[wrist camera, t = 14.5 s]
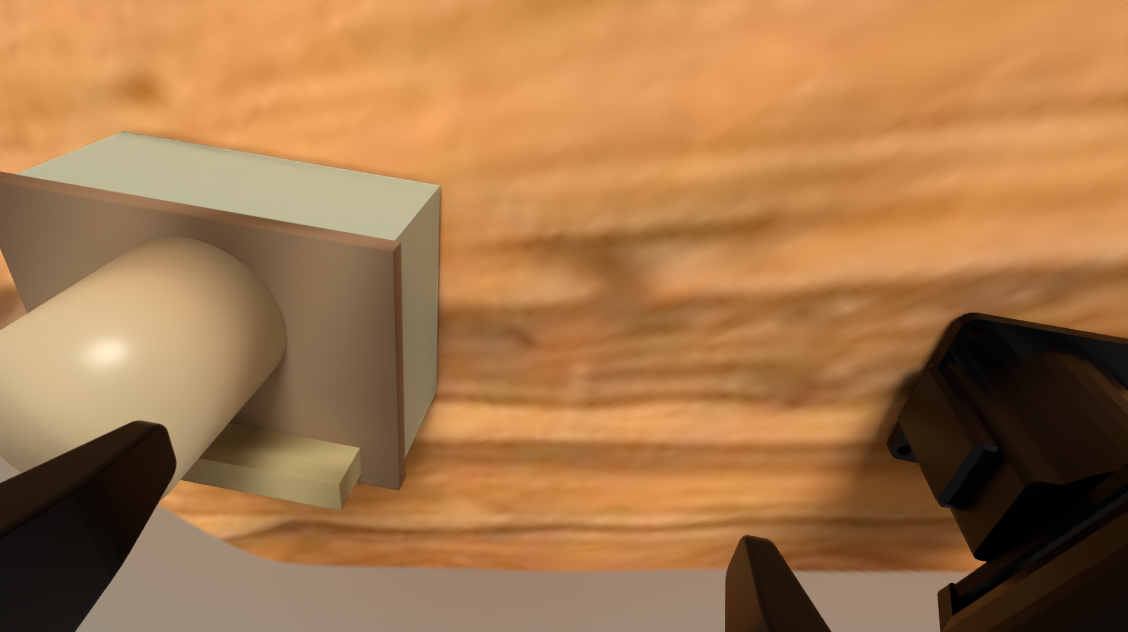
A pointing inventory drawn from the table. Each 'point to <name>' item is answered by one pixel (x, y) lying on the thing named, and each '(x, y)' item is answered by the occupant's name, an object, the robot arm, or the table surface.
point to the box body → (289, 217)
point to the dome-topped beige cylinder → (139, 353)
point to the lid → (312, 315)
